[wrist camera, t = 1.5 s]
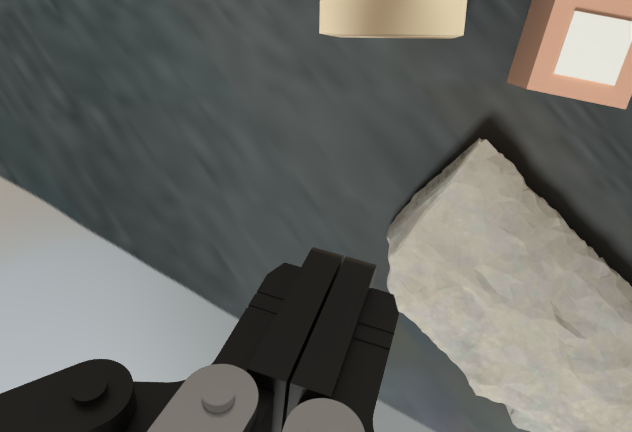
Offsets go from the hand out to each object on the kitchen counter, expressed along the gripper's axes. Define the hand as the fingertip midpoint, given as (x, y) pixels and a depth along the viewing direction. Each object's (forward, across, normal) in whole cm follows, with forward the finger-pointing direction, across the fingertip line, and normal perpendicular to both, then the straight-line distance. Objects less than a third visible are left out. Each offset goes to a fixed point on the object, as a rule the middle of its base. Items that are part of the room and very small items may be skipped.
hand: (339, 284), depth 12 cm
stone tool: (+22, -10, +18) cm, 30 cm away
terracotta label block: (+26, -7, 0) cm, 27 cm away
